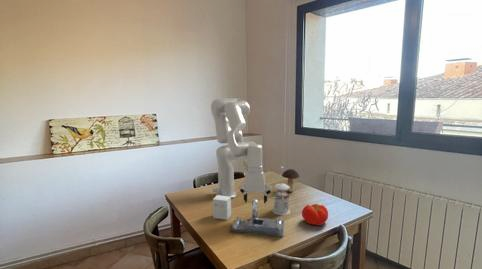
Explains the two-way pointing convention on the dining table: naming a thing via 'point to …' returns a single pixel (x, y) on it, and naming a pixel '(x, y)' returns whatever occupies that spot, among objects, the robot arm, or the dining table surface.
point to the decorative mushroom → (290, 178)
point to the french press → (281, 204)
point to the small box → (222, 207)
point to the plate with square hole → (259, 226)
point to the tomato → (315, 214)
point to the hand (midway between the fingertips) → (255, 202)
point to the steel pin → (254, 208)
